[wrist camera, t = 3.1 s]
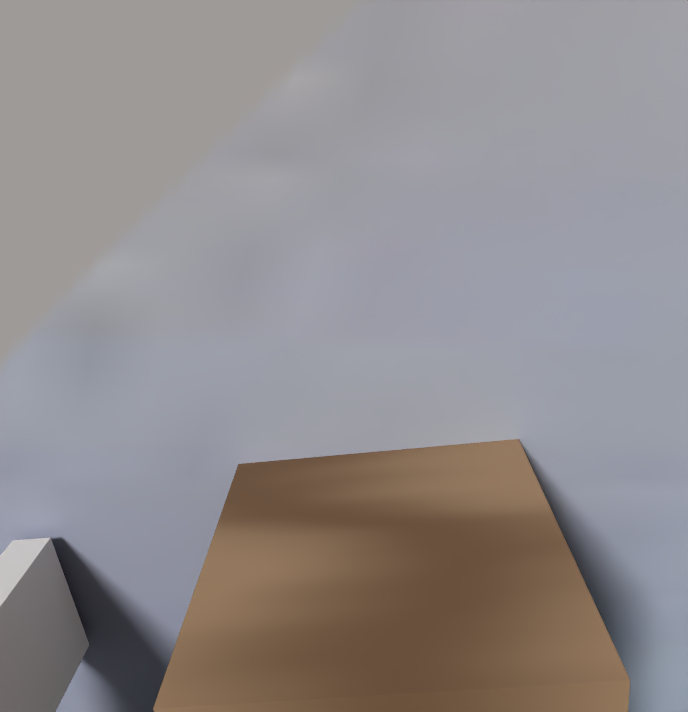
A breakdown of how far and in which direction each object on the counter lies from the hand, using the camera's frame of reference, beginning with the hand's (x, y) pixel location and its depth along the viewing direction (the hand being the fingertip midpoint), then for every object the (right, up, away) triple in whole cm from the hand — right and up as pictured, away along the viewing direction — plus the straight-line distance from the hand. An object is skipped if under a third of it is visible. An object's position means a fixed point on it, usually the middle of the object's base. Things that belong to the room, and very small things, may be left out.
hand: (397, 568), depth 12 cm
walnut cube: (0, 0, 0) cm, 0 cm away
